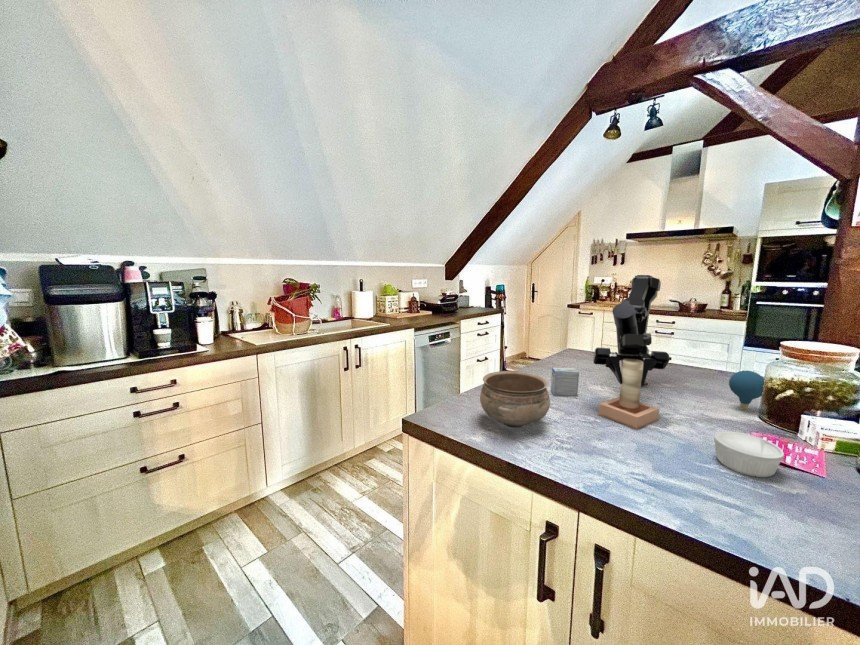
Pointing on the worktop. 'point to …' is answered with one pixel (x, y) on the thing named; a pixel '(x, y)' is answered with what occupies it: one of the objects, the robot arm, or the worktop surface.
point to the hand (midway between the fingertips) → (631, 384)
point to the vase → (631, 383)
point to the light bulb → (746, 386)
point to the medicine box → (564, 381)
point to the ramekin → (747, 453)
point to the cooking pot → (515, 397)
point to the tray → (629, 413)
